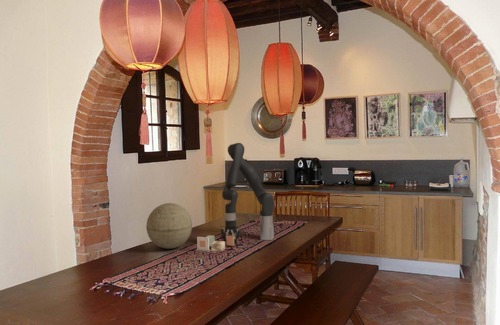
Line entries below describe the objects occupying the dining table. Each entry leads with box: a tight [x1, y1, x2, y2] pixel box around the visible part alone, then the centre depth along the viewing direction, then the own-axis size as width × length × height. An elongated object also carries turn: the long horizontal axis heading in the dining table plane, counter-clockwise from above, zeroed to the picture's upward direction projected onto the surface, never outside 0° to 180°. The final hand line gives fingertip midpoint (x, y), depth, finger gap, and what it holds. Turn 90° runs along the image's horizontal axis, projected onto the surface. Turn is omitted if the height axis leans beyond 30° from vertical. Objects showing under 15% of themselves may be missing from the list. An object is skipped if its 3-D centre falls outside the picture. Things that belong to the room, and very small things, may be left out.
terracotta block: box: [225, 235, 236, 247], centre depth 275 cm, size 5×5×6 cm
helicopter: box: [216, 223, 246, 236], centre depth 302 cm, size 23×34×15 cm
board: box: [195, 236, 212, 253], centre depth 262 cm, size 9×3×9 cm, turn 71°
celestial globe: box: [145, 202, 193, 250], centre depth 271 cm, size 30×30×30 cm
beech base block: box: [210, 240, 226, 252], centre depth 265 cm, size 7×7×5 cm
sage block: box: [206, 234, 216, 247], centre depth 278 cm, size 5×5×6 cm
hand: (231, 243), depth 275 cm, fingers closed on terracotta block, 5 cm apart
